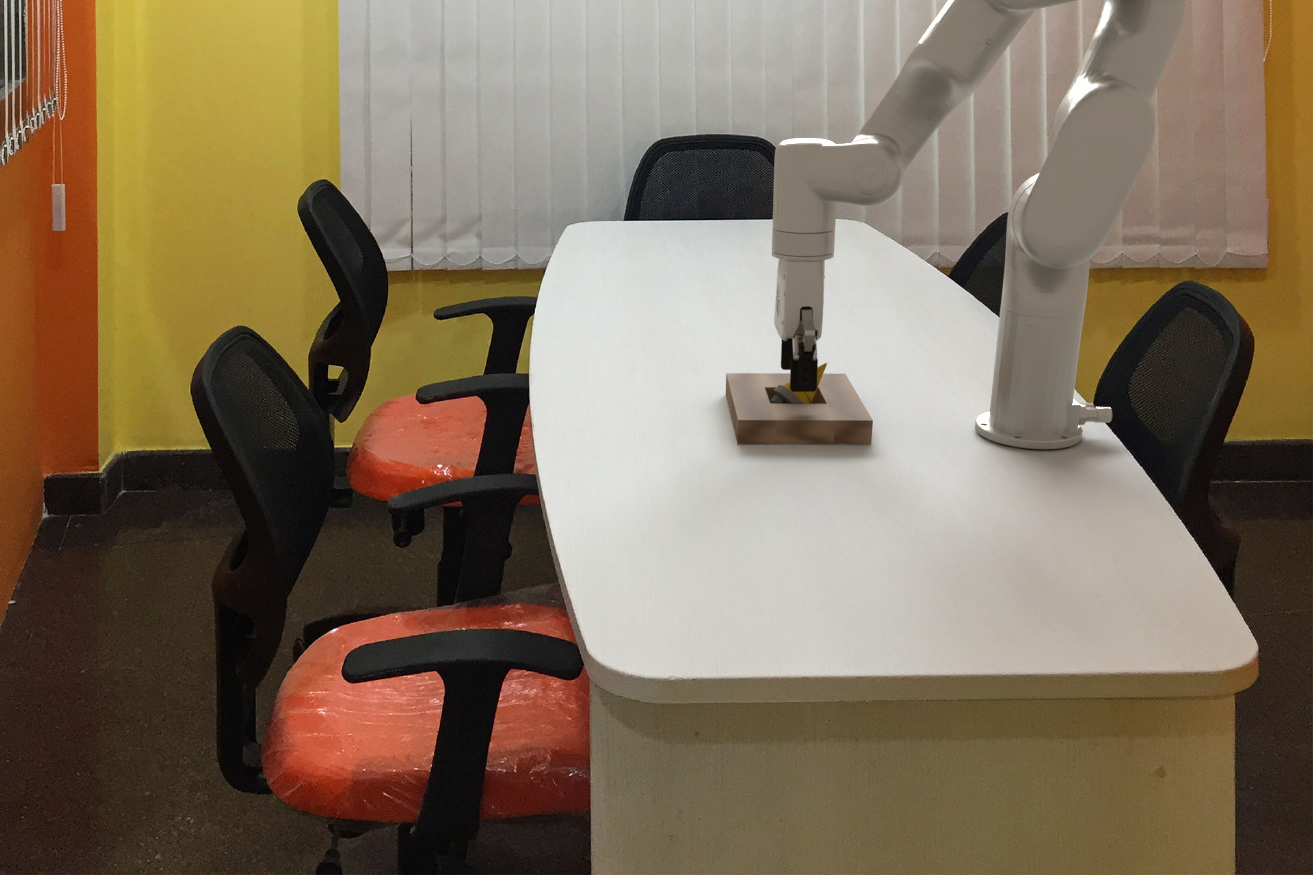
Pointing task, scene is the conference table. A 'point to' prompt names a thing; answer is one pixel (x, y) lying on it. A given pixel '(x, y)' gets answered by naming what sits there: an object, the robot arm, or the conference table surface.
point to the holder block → (796, 412)
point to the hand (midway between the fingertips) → (798, 379)
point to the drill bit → (788, 397)
